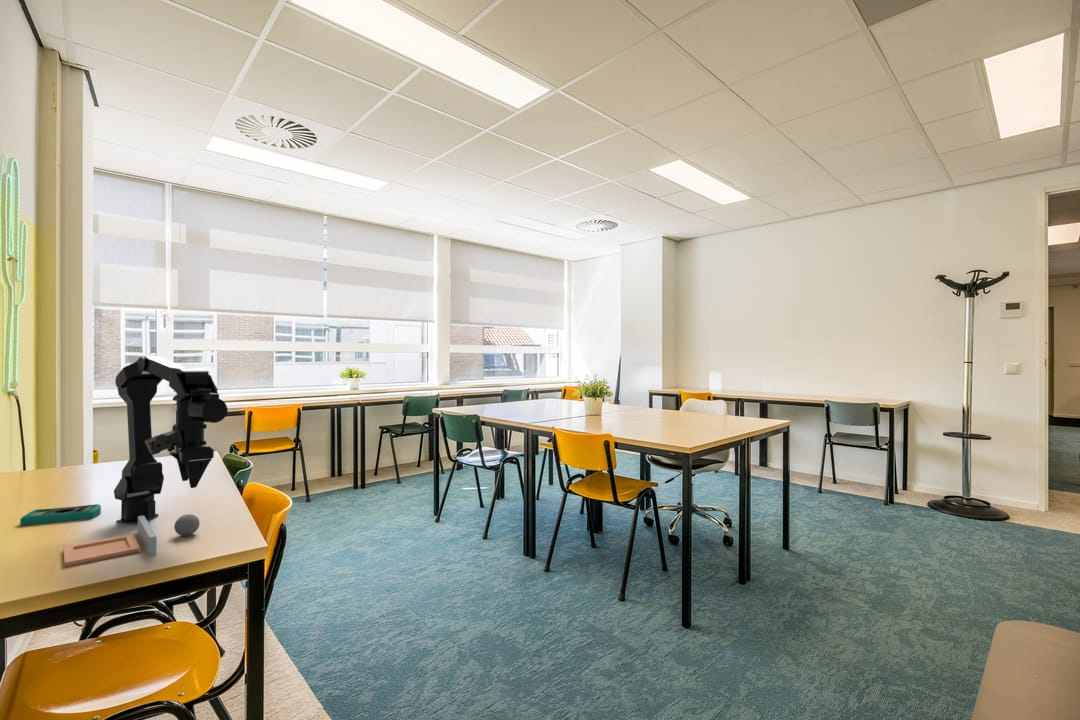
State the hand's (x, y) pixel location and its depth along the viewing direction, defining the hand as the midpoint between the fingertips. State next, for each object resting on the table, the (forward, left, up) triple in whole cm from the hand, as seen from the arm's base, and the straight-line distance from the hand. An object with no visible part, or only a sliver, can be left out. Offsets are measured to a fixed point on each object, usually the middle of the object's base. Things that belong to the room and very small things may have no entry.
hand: (189, 484), depth 121 cm
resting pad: (-11, -11, -12) cm, 20 cm away
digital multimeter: (-41, +11, -13) cm, 44 cm away
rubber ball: (0, 0, -10) cm, 10 cm away
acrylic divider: (-6, -6, -12) cm, 15 cm away
